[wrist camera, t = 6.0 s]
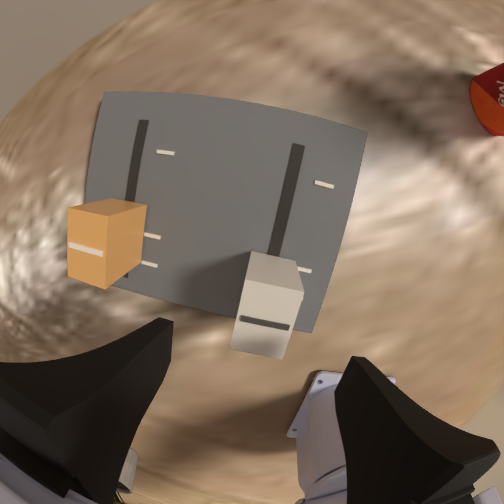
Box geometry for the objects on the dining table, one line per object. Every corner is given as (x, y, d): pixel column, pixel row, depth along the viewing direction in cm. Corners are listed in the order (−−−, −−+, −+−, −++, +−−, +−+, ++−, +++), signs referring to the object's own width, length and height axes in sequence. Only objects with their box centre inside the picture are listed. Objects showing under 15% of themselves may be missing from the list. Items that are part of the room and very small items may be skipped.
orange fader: (140, 262, 18) (104, 290, 13) (107, 253, 18) (67, 276, 13) (147, 204, 17) (107, 216, 12) (112, 198, 17) (67, 207, 12)
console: (309, 324, 20) (311, 334, 19) (90, 270, 20) (81, 275, 19) (361, 135, 16) (367, 132, 15) (112, 95, 16) (103, 91, 15)
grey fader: (279, 316, 18) (282, 360, 14) (238, 307, 18) (229, 349, 14) (295, 260, 17) (304, 292, 13) (251, 251, 17) (244, 280, 13)
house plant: (153, 484, 30) (129, 557, 15) (79, 444, 29) (40, 511, 14) (183, 461, 27) (154, 562, 11) (87, 409, 25) (29, 499, 10)
